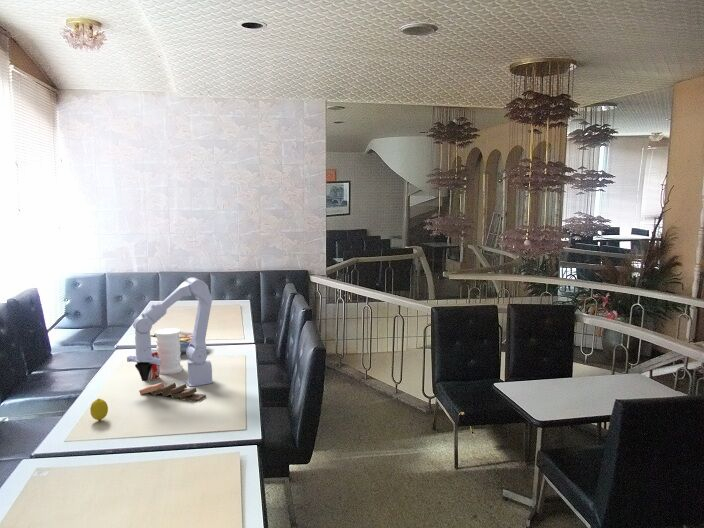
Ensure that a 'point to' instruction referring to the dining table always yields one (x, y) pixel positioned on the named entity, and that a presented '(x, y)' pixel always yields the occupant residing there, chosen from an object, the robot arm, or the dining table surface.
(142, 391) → the salmon pink rectangular block
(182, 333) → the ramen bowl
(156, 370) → the soda can
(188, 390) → the domino
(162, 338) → the decorative container
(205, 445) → the dining table surface
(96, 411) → the lemon
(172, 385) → the domino
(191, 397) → the domino
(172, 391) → the domino
